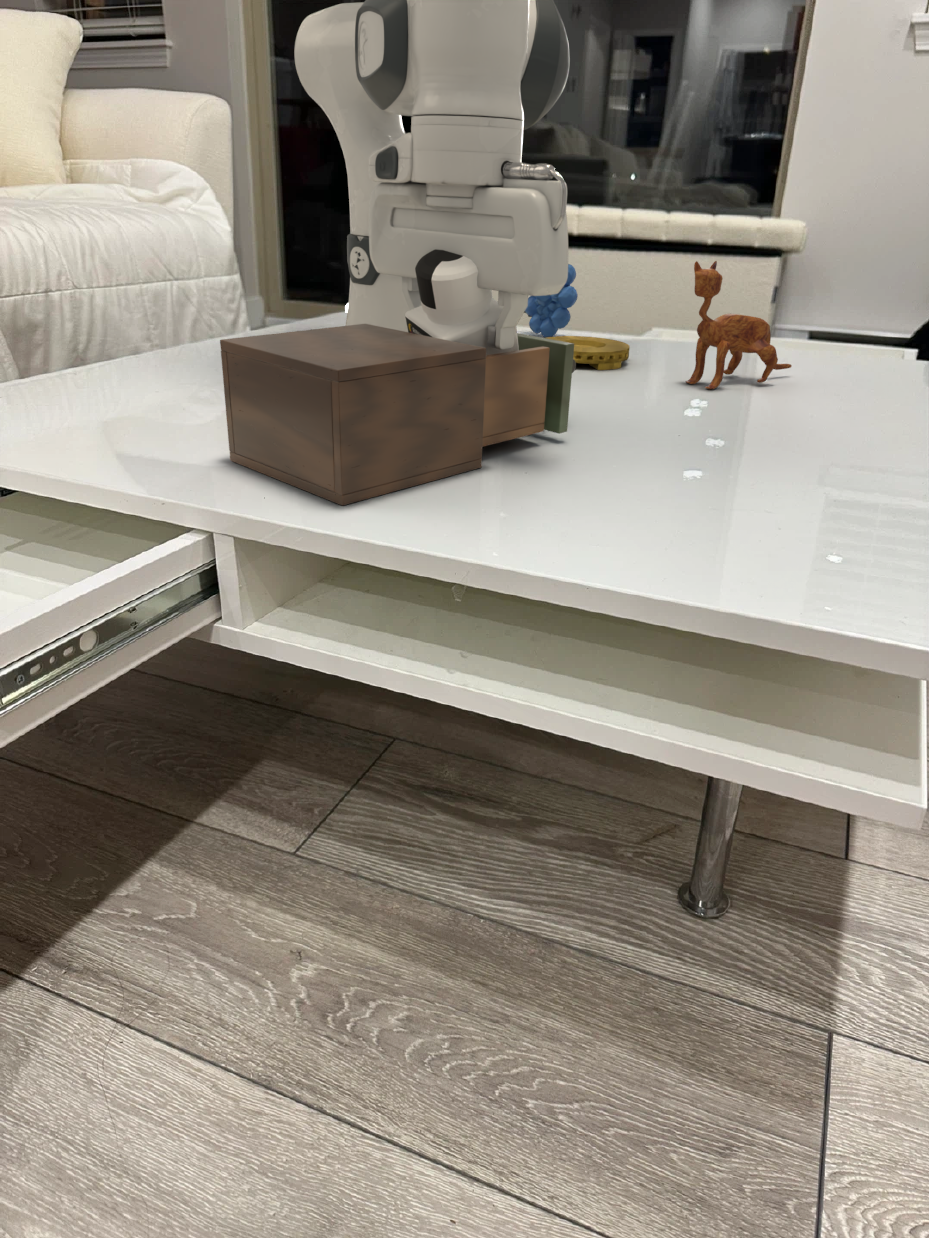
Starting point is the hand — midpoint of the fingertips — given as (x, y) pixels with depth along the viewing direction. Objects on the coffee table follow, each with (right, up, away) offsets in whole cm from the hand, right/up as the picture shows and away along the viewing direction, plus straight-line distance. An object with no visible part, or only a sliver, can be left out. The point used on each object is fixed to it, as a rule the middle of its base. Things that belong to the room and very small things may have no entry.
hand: (460, 340), depth 78 cm
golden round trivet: (+16, +10, +40) cm, 44 cm away
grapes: (+13, +18, +56) cm, 60 cm away
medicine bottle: (+1, -3, +4) cm, 5 cm away
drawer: (+2, -6, +5) cm, 8 cm away
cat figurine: (+34, +4, +31) cm, 46 cm away
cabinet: (-9, -11, -4) cm, 15 cm away
